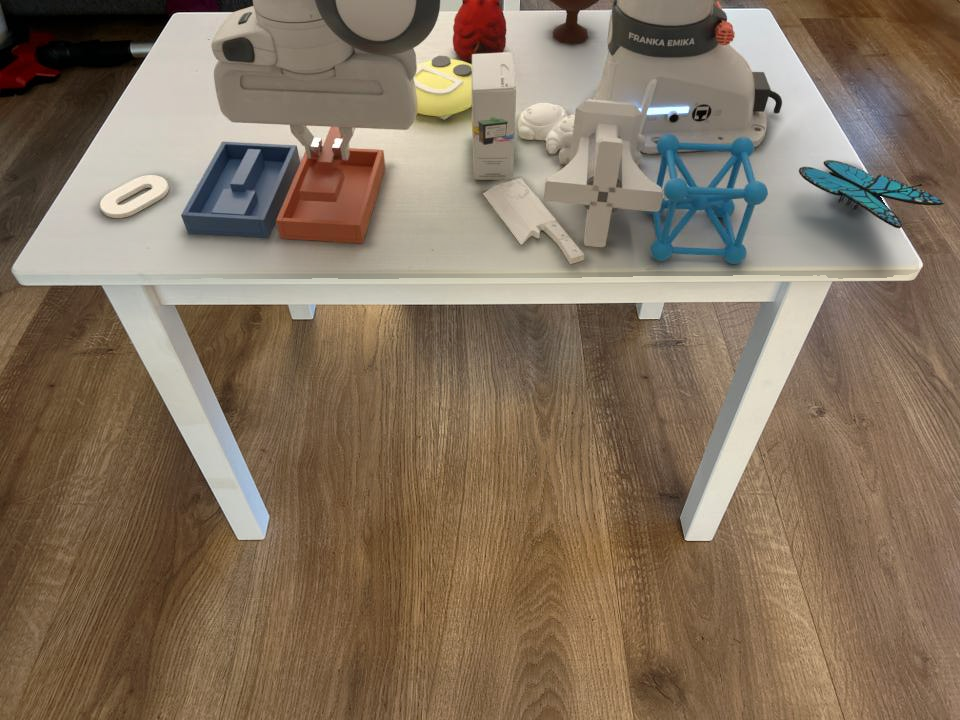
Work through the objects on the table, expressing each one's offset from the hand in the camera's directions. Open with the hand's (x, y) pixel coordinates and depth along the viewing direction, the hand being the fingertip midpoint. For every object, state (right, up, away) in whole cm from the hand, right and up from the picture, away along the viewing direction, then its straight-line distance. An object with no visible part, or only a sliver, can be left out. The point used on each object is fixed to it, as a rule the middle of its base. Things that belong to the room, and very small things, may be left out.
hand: (328, 156), depth 83 cm
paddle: (-11, -3, +5) cm, 12 cm away
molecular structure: (+45, -6, -4) cm, 46 cm away
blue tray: (-11, -3, +5) cm, 12 cm away
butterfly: (+59, -5, +3) cm, 59 cm away
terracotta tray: (0, -4, +5) cm, 6 cm away
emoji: (+11, +13, +19) cm, 26 cm away
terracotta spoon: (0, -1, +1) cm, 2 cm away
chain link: (-21, -5, +4) cm, 22 cm away
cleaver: (+21, -9, +2) cm, 23 cm away
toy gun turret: (+29, -5, -6) cm, 30 cm away
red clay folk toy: (+16, +21, +27) cm, 38 cm away
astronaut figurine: (+32, +3, +11) cm, 34 cm away
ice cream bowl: (+30, +26, +31) cm, 51 cm away
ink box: (+18, +2, +10) cm, 21 cm away
